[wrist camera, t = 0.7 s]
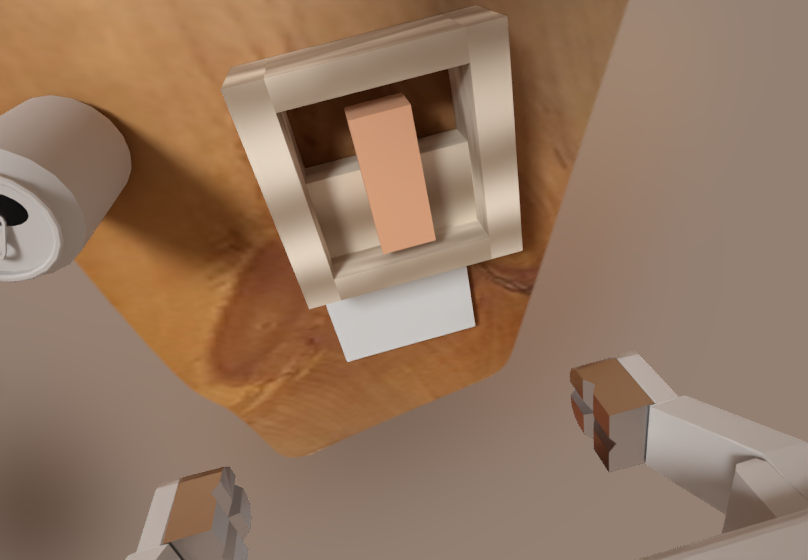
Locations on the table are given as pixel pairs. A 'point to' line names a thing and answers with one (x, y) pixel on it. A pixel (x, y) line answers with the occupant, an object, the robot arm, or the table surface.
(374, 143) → the bar
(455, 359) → the table surface
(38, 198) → the can
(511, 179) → the pocket block
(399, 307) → the mat
